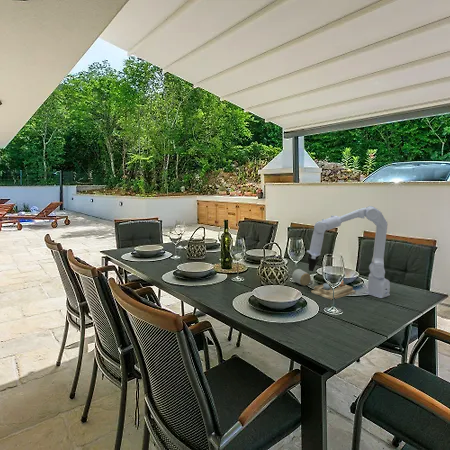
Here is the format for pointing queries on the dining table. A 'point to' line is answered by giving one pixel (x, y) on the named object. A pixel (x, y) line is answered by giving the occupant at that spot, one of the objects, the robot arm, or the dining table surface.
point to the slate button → (326, 286)
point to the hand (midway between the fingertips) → (311, 268)
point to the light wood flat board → (337, 291)
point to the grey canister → (301, 277)
